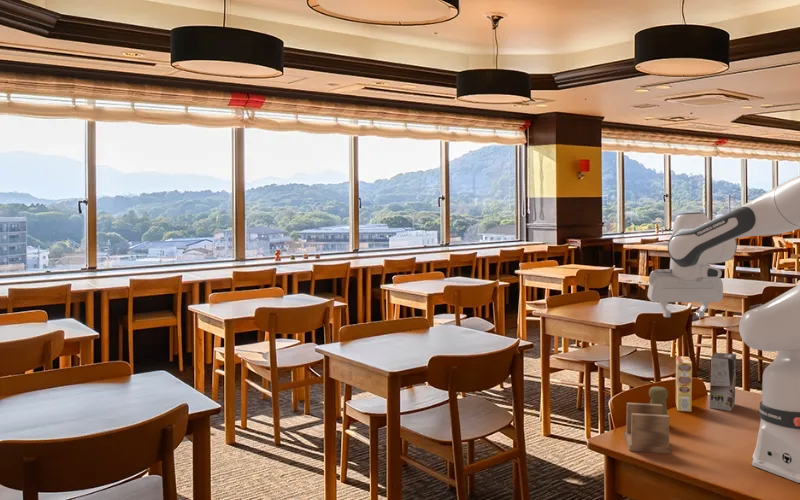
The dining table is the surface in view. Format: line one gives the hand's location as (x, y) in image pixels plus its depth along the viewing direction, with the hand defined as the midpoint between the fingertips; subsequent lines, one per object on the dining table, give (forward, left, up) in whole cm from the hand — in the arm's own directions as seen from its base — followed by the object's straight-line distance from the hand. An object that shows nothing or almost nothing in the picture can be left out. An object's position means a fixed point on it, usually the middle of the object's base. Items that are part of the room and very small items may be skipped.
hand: (683, 316), depth 191 cm
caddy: (-11, +19, -31) cm, 39 cm away
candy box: (+14, -12, -32) cm, 36 cm away
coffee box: (+12, -25, -32) cm, 42 cm away
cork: (+2, +6, -32) cm, 32 cm away
